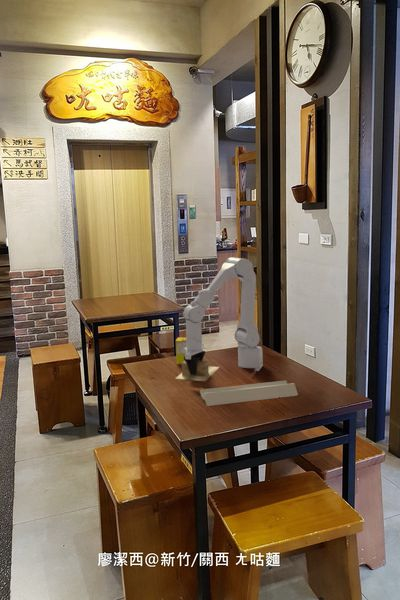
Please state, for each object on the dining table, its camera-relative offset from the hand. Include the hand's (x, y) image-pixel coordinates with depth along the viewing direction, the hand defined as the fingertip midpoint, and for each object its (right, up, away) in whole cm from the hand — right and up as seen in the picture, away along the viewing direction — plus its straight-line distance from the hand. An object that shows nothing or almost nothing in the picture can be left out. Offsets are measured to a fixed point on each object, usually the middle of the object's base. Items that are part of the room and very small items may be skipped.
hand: (195, 372), depth 186 cm
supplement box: (-5, +1, +17) cm, 18 cm away
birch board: (+1, -1, +3) cm, 3 cm away
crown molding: (+18, -6, -19) cm, 27 cm away
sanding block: (0, -1, 0) cm, 1 cm away
